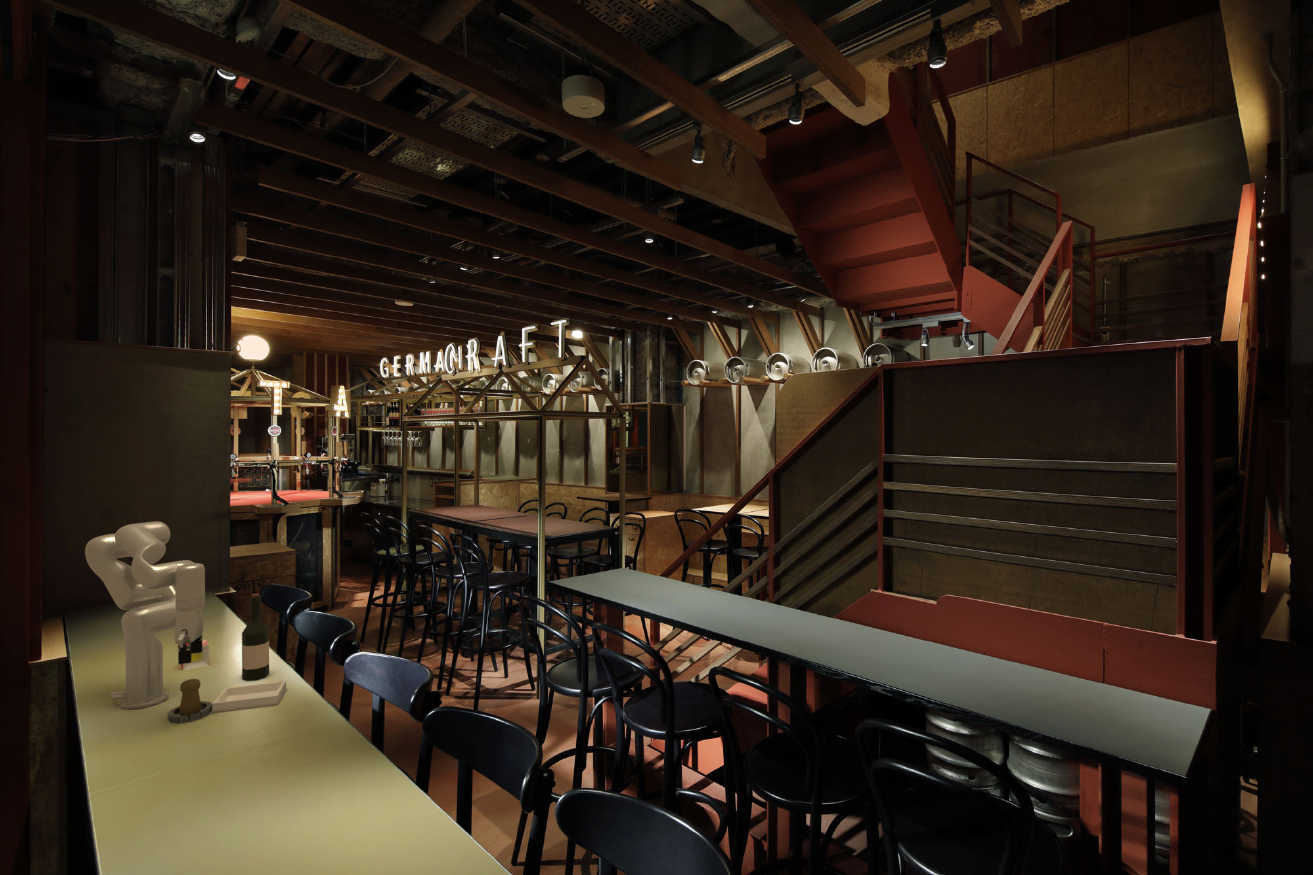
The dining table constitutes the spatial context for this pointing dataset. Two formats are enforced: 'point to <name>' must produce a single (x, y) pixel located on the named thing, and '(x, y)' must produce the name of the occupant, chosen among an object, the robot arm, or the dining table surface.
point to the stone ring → (176, 718)
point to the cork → (190, 697)
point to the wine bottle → (255, 644)
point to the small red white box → (198, 658)
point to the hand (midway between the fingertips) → (190, 657)
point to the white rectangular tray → (249, 696)
